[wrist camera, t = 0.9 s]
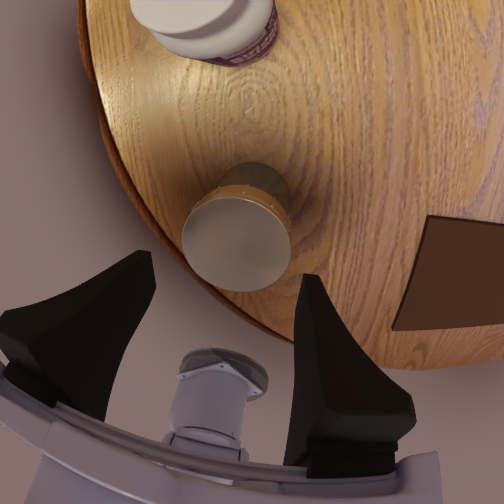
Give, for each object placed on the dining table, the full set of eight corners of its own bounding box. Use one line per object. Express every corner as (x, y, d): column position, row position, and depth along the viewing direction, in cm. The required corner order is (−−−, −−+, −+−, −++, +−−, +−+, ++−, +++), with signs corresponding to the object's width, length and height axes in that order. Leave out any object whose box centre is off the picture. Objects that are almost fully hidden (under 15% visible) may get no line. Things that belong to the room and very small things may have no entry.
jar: (246, 239, 22) (228, 295, 17) (204, 187, 20) (170, 230, 15) (302, 207, 20) (304, 258, 15) (261, 148, 18) (246, 178, 13)
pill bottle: (259, 80, 15) (223, 74, 7) (184, 54, 15) (92, 42, 7) (294, 10, 13) (292, -56, 5) (215, -13, 12) (149, -74, 4)
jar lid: (232, 286, 18) (226, 305, 16) (172, 218, 16) (160, 233, 14) (311, 247, 16) (312, 265, 14) (251, 163, 13) (246, 174, 12)
